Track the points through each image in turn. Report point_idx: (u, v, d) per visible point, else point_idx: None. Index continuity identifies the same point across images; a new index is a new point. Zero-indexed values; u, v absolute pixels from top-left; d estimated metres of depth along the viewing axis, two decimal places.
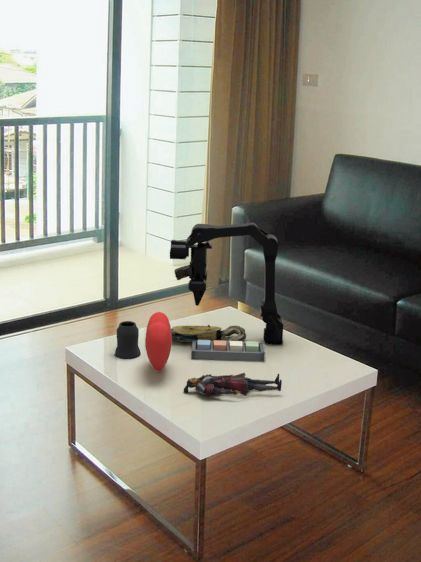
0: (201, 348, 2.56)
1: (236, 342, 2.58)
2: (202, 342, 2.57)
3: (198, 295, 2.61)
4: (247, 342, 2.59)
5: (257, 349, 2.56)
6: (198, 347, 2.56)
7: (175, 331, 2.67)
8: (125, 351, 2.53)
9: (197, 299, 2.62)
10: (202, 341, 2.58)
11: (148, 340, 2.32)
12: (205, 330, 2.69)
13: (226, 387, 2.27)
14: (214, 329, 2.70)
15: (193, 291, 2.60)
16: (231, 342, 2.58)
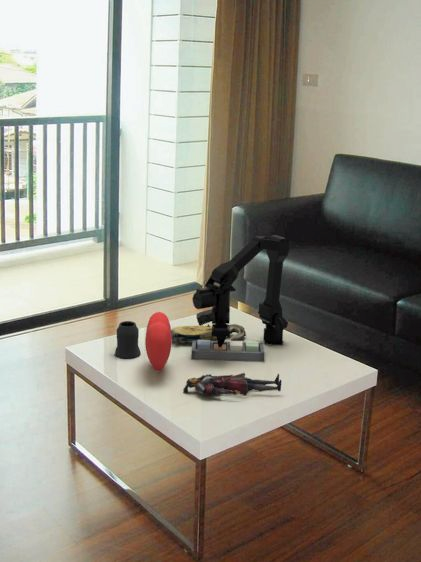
0: (201, 348, 2.56)
1: (236, 342, 2.58)
2: (202, 342, 2.57)
3: (221, 337, 2.56)
4: (247, 342, 2.59)
5: (257, 349, 2.56)
6: (198, 347, 2.56)
7: (177, 332, 2.67)
8: (125, 351, 2.53)
9: (220, 341, 2.56)
10: (202, 341, 2.58)
11: (148, 340, 2.32)
12: (206, 330, 2.69)
13: (226, 387, 2.27)
14: None
15: None
16: (231, 342, 2.58)
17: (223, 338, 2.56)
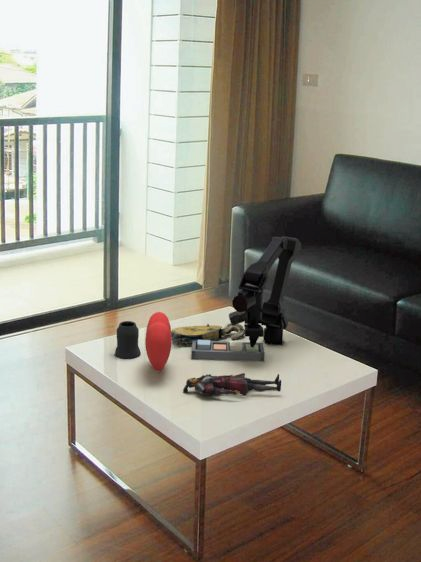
0: (201, 348, 2.56)
1: (236, 342, 2.58)
2: (202, 342, 2.57)
3: (254, 337, 2.56)
4: (247, 345, 2.59)
5: None
6: (198, 347, 2.56)
7: (179, 333, 2.66)
8: (125, 351, 2.53)
9: (252, 341, 2.56)
10: (202, 341, 2.58)
11: (148, 340, 2.32)
12: (208, 330, 2.69)
13: (226, 387, 2.27)
14: (215, 328, 2.71)
15: None
16: (231, 342, 2.58)
17: (255, 338, 2.56)
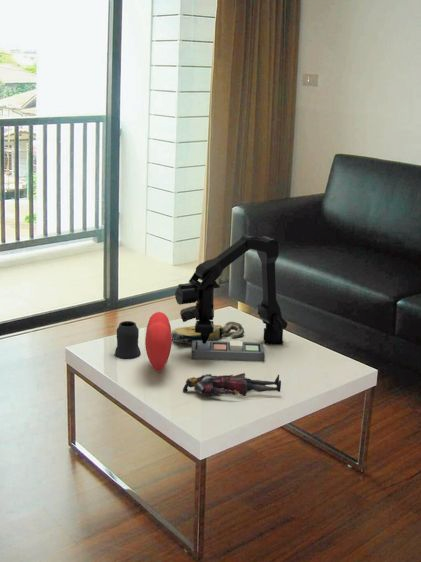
0: (201, 349, 2.56)
1: (236, 342, 2.58)
2: (202, 343, 2.57)
3: (205, 333, 2.55)
4: (247, 346, 2.59)
5: None
6: (198, 348, 2.56)
7: (181, 334, 2.65)
8: (125, 351, 2.53)
9: (204, 337, 2.56)
10: None
11: (148, 340, 2.32)
12: None
13: (225, 387, 2.27)
14: (216, 327, 2.72)
15: None
16: (231, 342, 2.58)
17: (207, 334, 2.55)
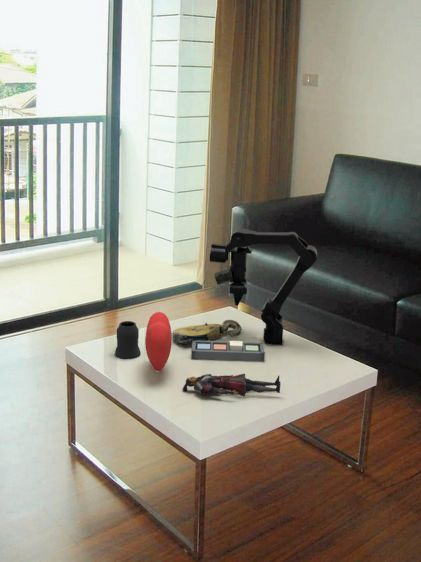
0: None
1: (236, 342, 2.58)
2: (202, 346, 2.58)
3: (238, 295, 2.68)
4: (247, 346, 2.59)
5: None
6: None
7: (184, 334, 2.65)
8: (125, 351, 2.53)
9: (237, 299, 2.69)
10: (202, 345, 2.59)
11: (148, 340, 2.32)
12: (209, 328, 2.70)
13: (224, 387, 2.27)
14: (216, 326, 2.73)
15: None
16: (231, 342, 2.58)
17: (240, 297, 2.68)
